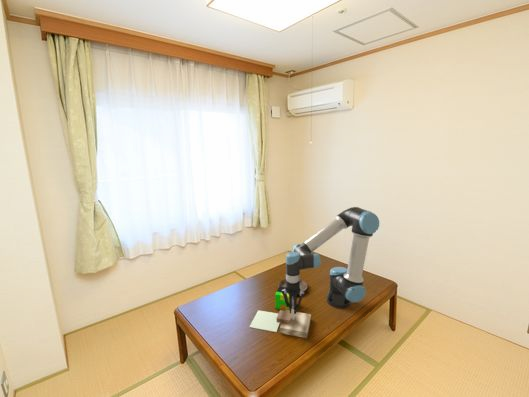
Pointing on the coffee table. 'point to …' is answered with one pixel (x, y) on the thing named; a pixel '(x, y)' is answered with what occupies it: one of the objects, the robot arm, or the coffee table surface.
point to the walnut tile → (284, 317)
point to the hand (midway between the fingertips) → (293, 318)
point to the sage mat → (265, 321)
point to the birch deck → (297, 325)
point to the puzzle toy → (282, 300)
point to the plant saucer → (302, 284)
